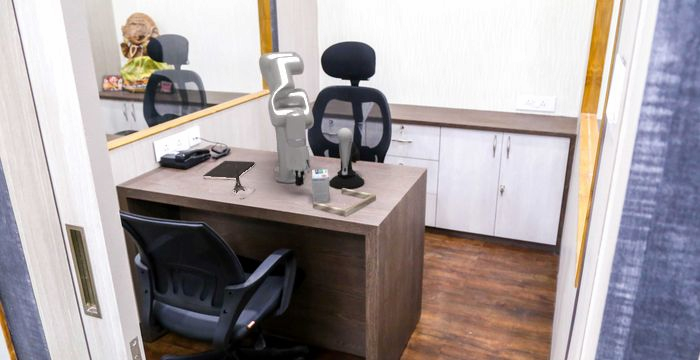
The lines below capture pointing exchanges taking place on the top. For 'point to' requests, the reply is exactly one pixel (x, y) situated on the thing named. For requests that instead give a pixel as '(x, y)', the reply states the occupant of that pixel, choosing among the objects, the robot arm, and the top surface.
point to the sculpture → (347, 163)
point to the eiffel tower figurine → (238, 187)
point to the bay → (345, 212)
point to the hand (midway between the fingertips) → (299, 184)
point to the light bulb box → (320, 186)
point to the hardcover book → (229, 169)
